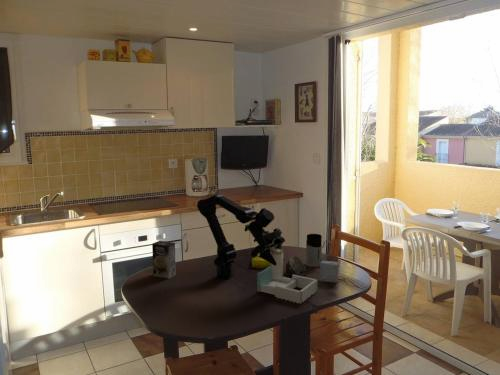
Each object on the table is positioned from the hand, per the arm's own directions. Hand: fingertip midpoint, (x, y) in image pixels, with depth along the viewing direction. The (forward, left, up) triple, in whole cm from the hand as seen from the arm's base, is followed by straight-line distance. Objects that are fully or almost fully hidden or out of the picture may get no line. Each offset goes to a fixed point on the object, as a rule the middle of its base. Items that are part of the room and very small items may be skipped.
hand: (279, 263), depth 185 cm
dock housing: (+6, +2, -13) cm, 15 cm away
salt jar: (-1, 0, -7) cm, 7 cm away
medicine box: (+16, +22, -13) cm, 31 cm away
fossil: (0, +24, -14) cm, 28 cm away
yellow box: (-18, +33, -14) cm, 41 cm away
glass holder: (+6, +41, -13) cm, 44 cm away
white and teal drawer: (-2, +3, -13) cm, 14 cm away
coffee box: (-58, -2, -13) cm, 59 cm away
